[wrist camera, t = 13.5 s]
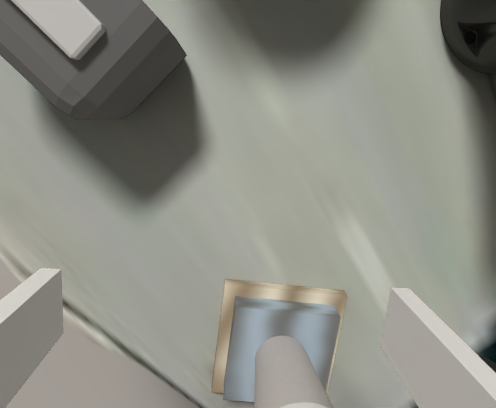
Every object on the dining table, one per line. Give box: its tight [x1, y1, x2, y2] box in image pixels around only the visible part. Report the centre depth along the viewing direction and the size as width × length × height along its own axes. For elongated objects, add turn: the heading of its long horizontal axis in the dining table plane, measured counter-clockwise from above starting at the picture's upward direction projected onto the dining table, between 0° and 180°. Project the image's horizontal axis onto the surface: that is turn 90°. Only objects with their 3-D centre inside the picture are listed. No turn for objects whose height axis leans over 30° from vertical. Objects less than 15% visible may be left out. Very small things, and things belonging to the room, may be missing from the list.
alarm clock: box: [0, 0, 187, 119], centre depth 34 cm, size 16×11×16 cm
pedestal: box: [212, 279, 347, 402], centre depth 49 cm, size 16×16×4 cm
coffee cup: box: [254, 336, 333, 408], centre depth 40 cm, size 10×10×15 cm
